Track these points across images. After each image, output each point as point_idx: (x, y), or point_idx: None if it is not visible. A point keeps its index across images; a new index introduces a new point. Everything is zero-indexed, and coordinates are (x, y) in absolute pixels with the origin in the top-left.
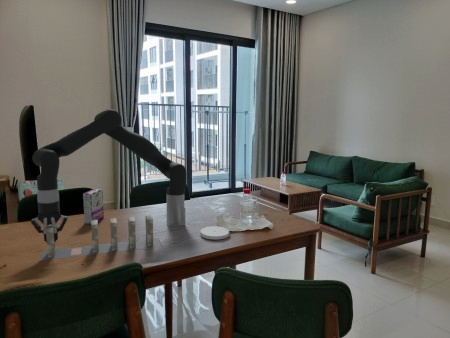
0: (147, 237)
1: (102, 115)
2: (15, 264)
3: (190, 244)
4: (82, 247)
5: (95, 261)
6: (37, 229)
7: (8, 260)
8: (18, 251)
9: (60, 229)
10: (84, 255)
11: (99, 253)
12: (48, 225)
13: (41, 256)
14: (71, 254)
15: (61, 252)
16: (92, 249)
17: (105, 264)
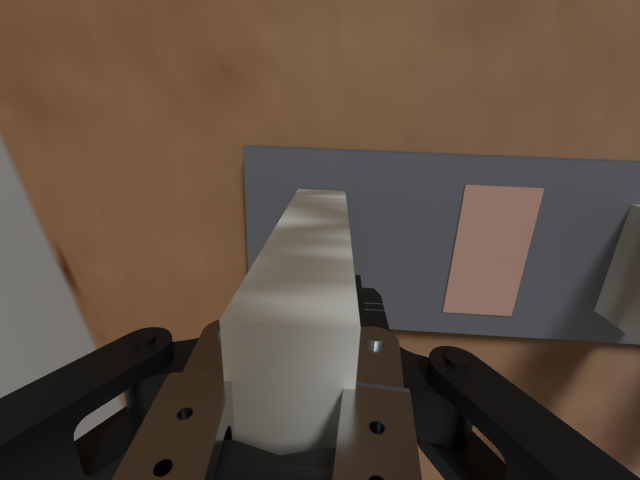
0: None
1: None
2: (119, 278)
3: None
4: (551, 184)
5: (567, 394)
6: (104, 450)
7: (51, 200)
8: (49, 32)
9: (444, 449)
10: (528, 336)
11: (632, 340)
12: (251, 425)
13: (252, 257)
14: (449, 298)
15: (384, 232)
16: (613, 323)
17: (605, 444)
